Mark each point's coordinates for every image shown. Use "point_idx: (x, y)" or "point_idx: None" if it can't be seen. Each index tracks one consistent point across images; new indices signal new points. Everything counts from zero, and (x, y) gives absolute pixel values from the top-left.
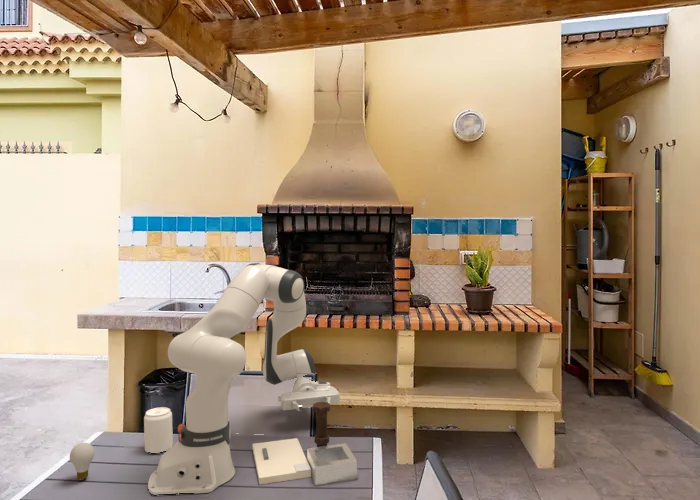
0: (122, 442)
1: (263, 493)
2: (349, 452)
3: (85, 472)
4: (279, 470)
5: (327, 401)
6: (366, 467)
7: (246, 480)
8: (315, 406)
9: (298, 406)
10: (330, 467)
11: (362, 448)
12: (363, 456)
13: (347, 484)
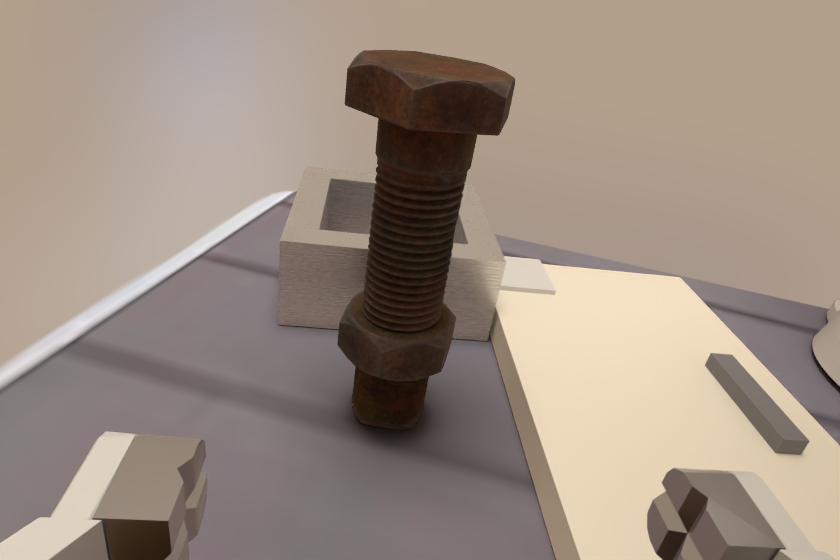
0: None
1: (635, 268)
2: (306, 196)
3: None
4: (613, 288)
5: (126, 475)
6: (221, 264)
7: (738, 331)
8: (493, 67)
9: (732, 471)
10: None
11: (91, 389)
12: (164, 324)
13: None
